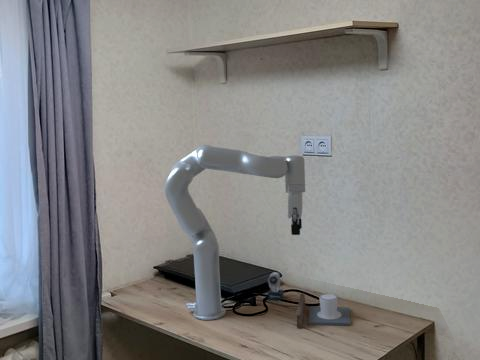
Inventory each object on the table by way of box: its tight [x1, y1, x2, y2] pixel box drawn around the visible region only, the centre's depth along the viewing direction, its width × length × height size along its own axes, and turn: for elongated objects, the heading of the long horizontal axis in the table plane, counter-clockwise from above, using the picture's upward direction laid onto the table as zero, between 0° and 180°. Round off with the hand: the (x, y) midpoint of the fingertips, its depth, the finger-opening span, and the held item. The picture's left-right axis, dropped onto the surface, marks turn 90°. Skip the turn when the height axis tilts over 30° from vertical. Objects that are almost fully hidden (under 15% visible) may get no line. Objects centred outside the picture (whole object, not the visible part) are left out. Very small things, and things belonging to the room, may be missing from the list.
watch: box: [267, 271, 285, 302], centre depth 222 cm, size 6×8×11 cm
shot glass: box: [318, 293, 339, 317], centre depth 200 cm, size 7×7×7 cm
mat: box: [307, 306, 351, 327], centre depth 201 cm, size 15×15×1 cm
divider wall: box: [296, 292, 306, 329], centre depth 202 cm, size 2×22×5 cm, turn 170°
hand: (296, 231), depth 209 cm, fingers open, 9 cm apart
